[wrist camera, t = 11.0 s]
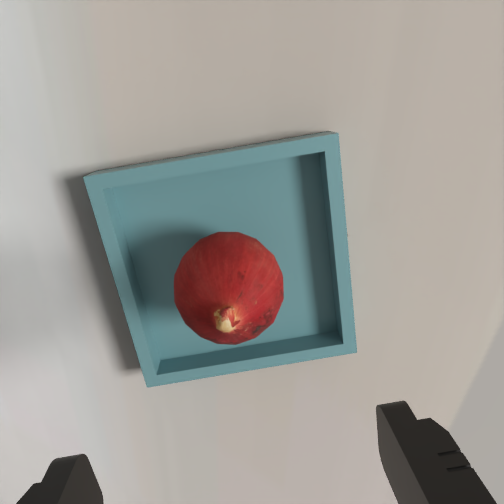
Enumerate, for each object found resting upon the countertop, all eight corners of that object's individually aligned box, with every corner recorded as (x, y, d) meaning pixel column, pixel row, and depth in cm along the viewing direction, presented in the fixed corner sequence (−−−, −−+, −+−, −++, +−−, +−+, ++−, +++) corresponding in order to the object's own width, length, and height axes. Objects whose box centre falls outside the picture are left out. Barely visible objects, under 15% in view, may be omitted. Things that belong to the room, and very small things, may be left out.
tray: (96, 170, 23) (82, 176, 21) (328, 131, 23) (338, 133, 21) (153, 366, 28) (147, 387, 26) (347, 334, 28) (357, 352, 26)
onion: (295, 262, 25) (322, 328, 17) (230, 320, 26) (229, 406, 19) (229, 196, 23) (227, 238, 16) (162, 262, 25) (132, 330, 17)
